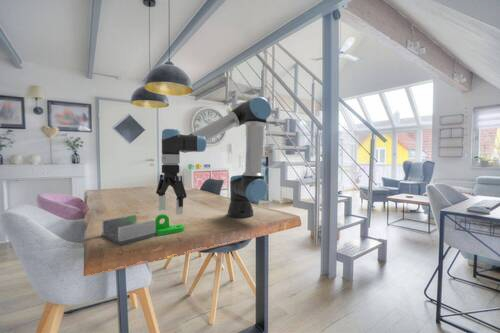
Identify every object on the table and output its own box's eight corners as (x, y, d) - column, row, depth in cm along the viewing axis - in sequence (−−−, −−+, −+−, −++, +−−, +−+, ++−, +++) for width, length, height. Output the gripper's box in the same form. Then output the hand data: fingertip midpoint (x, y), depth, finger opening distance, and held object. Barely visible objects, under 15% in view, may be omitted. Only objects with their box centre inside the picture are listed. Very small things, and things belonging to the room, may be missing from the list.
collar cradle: (155, 236, 101) (155, 220, 101) (120, 245, 90) (120, 228, 90) (134, 228, 113) (134, 214, 113) (101, 235, 102) (101, 220, 102)
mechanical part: (158, 236, 102) (158, 217, 101) (155, 232, 107) (155, 214, 106) (186, 231, 108) (185, 214, 108) (182, 228, 113) (181, 211, 113)
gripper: (148, 163, 111) (148, 209, 111) (179, 164, 95) (179, 217, 95) (163, 163, 116) (163, 207, 117) (195, 164, 101) (194, 214, 101)
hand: (170, 212), depth 106 cm, fingers open, 13 cm apart
